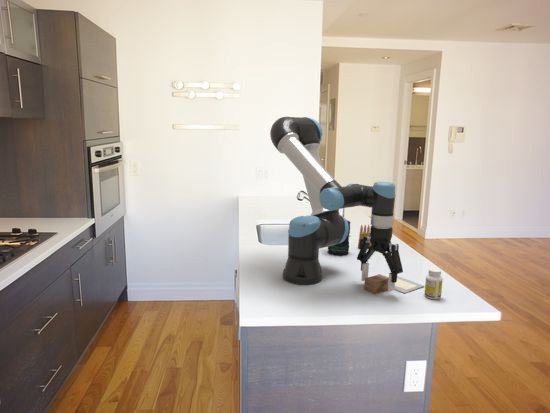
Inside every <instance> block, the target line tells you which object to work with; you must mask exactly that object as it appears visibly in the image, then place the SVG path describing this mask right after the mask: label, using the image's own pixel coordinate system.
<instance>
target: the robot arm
mask: <svg viewBox="0 0 550 413" xmlns="http://www.w3.org/2000/svg"><path fill="white" fill-rule="evenodd" d="M270 128H271V129H270V132H269V134H270V135H269V136H270V140H271V143H272V145H273V146H274V148H275V149H276V150H277V151H278V152H279V153H280V154H284V155H285V157H287V159H288V160H289V161H290V162H291V163H292V164H293V166H294V167H295V168H296V169H297V170H298V171H299V172H300V174H301V175H302V177H303V182H304V185H305V188H306V192H307V197H308V201H309V204H310V208H311V211H312V212H311V214H310V215H300V216H299V215H298V216H297V217H294V218H292V219H291V220H290V222H289V223H288V224H289V225H288V231H287V232H288V240H287V241H288V242H287V244H288V246H287V247H288V249H287V253H288V255H287V260H286V262H285V266H284V269H283V271H282V278H283V280H284V281H286V282H288V283H292V284H296V285H314V284H318V283H320V282H321V281H322V280H323V271H322V267H321V264H320V260H319V258H320V257H319V255H320V249H323V248H328V246H334V245H337V244H339V243H342V242H343V241H344V240H345V239H346V237H347V235H348V232H349V225H348V222H347V221H348V219H347V218H345V217H344V216H343V215H341V214H340V213H339V210H342V209H347V208H354V207H366V208H371V216H370V217H371V218H370V225H371V226H370V236H371V238H370V236H366V237H364V238H363V244H362V246H361V249H359V252H358V254H357V257H356V259H357V261H360V271H361V279H360V280H361V281H362V282H365V278H368V277H369V269H370V268H369V267H370V263H369V260H370V259H371V257H372V256H373V255H374V253H375V252H378V253H380V254H381V255H382V256H383V257H384V259H385V261H386V264H387V266H388V268H389V271H390V272H389V273H388V277H389V280H388V290H387V292H393V291H395V290H394V289H395V282H397V276H398V274H402V273H403V272H404V270H403V265H402V262H401V261H402V260H401V257H400V252H399V249H400V248H399V247H400V246H399V244H398V243H395V244H394V243H392V238H393V225H394V215H395V214H394V213H395V212H394V211H395V200H396V196H397V195H396V185H395V184H394V183H393V182H390V181H376V182H374V183H373V185H372V186H370V185H364V184H359V183H348V184H347V185H346V186H345V185H344V186H342V185H341V184H340V183H339V182H338V181H337V180H336V179H335V178H334V177H333V176H332V174H331V173H329V171H327V169H326V168H325V167H324V166H323V164H322V161H321V157H320V153H319V149H320V147H321V144H320V143H321V141H322V137H323V128H322V125H321V124H320V123H319V122H318V120H316V119H314V118H311V117H307V116H302V117H297V116H296V117H295V116H283V117H280V118H277V119H276V120H275V121H274V122H273V124H272V126H271V127H270ZM370 242H371V246H370V248H369V249H368V247H369V244H370Z"/></svg>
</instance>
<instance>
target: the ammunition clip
mask: <svg viewBox="0 0 550 413" xmlns="http://www.w3.org/2000/svg"><path fill="white" fill-rule="evenodd" d="M370 228H371V226H370V224H368V225H366V224H364V227H363V224H361V226H360V228H359V229H360V230H359V236H358V237H359V238H358V242H357V244H358V245H357V248H358V250H360V249H361V246H362V244H363V238H364V237H366V236H370ZM370 238H371V236H370ZM370 246H371V242H370V244H369V247H368V249H367V250H369V248H370Z"/></svg>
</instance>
